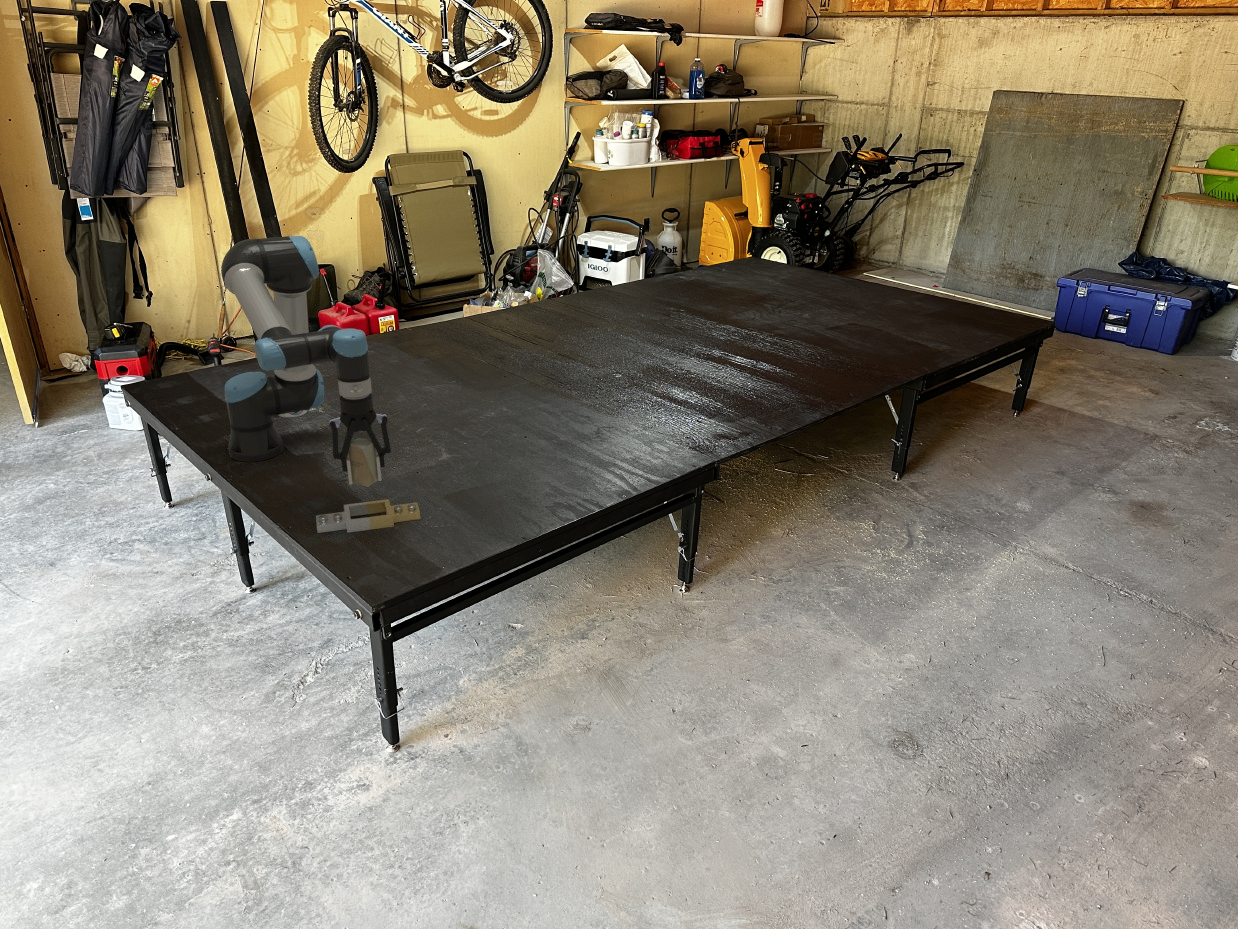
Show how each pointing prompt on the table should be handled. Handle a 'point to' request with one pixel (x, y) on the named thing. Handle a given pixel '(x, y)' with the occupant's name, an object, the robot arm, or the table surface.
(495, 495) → the table surface
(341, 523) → the link
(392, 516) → the link
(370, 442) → the box
